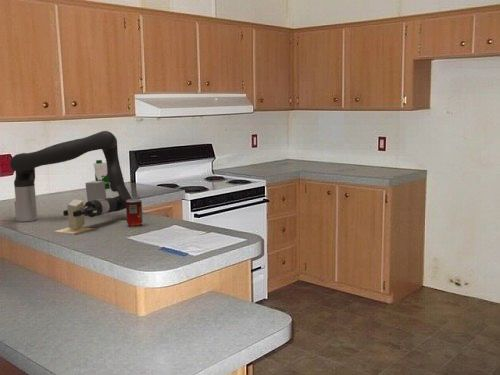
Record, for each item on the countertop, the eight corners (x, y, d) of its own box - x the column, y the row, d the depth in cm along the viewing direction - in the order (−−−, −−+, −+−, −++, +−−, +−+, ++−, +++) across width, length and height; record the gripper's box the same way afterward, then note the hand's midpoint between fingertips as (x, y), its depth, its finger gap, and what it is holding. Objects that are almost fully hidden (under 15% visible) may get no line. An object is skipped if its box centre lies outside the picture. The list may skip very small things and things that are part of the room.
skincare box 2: (108, 209, 287) (106, 180, 285) (99, 211, 281) (97, 182, 278) (95, 208, 291) (94, 180, 288) (86, 210, 284) (84, 181, 282)
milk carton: (103, 187, 376) (101, 159, 374) (112, 188, 371) (110, 160, 369) (93, 189, 369) (91, 160, 366) (102, 189, 364) (100, 161, 361)
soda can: (143, 226, 241) (142, 199, 239) (127, 227, 239) (126, 201, 237) (142, 223, 248) (140, 197, 246) (126, 224, 246) (125, 198, 244)
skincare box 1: (77, 230, 233) (75, 206, 228) (68, 228, 234) (66, 204, 229) (85, 224, 239) (83, 200, 233) (76, 221, 240) (75, 198, 234)
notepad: (54, 232, 233) (54, 230, 233) (73, 227, 243) (73, 226, 243) (77, 234, 227) (77, 233, 227) (95, 229, 237) (95, 228, 237)
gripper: (85, 198, 247) (56, 204, 232) (108, 200, 240) (80, 206, 225) (86, 214, 248) (57, 221, 233) (109, 216, 241) (81, 223, 226)
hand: (68, 213), depth 229 cm, fingers closed on skincare box 1, 5 cm apart
